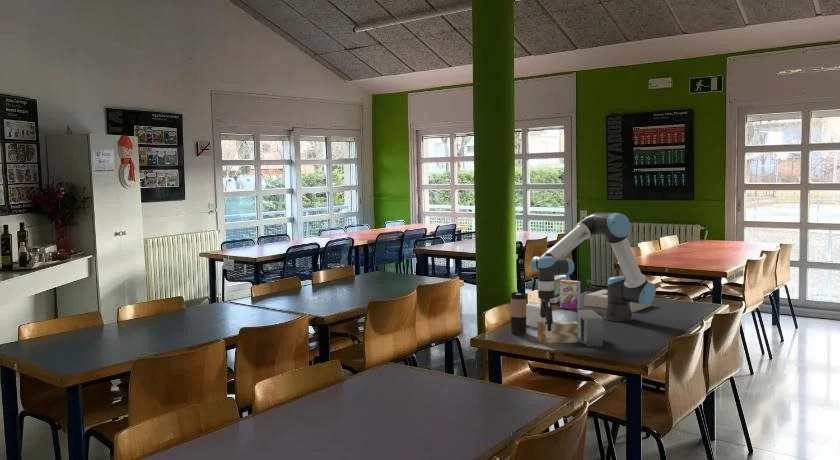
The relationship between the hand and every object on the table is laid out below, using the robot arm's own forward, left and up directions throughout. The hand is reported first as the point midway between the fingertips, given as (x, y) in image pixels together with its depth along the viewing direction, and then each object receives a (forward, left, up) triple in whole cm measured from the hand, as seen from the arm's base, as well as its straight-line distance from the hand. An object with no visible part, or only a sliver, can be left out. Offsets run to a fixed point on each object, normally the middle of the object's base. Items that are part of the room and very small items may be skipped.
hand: (546, 334), depth 326 cm
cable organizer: (-1, -35, -4) cm, 35 cm away
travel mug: (+10, -18, -4) cm, 21 cm away
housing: (-21, 0, -3) cm, 21 cm away
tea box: (-23, -103, -4) cm, 105 cm away
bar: (-5, 0, -3) cm, 6 cm away
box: (-57, -85, -4) cm, 103 cm away
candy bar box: (-28, -78, -4) cm, 83 cm away
